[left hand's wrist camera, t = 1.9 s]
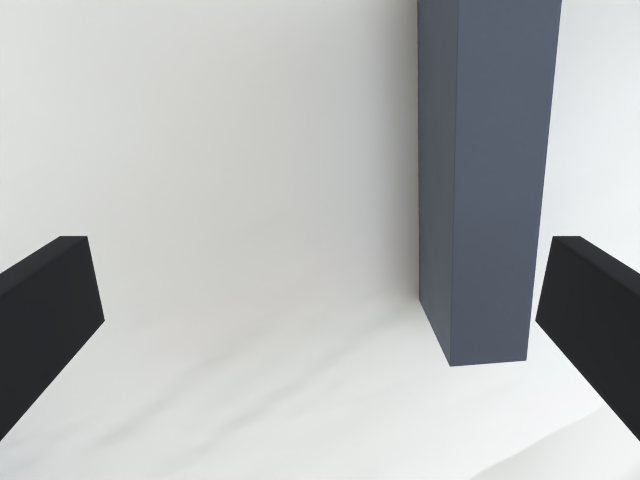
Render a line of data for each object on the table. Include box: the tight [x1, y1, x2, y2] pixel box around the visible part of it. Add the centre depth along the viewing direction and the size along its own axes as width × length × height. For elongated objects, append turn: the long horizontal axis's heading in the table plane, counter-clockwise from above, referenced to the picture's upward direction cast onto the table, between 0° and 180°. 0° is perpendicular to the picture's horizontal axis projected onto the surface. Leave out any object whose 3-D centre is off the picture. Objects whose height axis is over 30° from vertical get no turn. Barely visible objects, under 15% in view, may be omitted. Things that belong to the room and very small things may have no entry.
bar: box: [417, 0, 562, 366], centre depth 27 cm, size 23×5×8 cm, turn 5°
